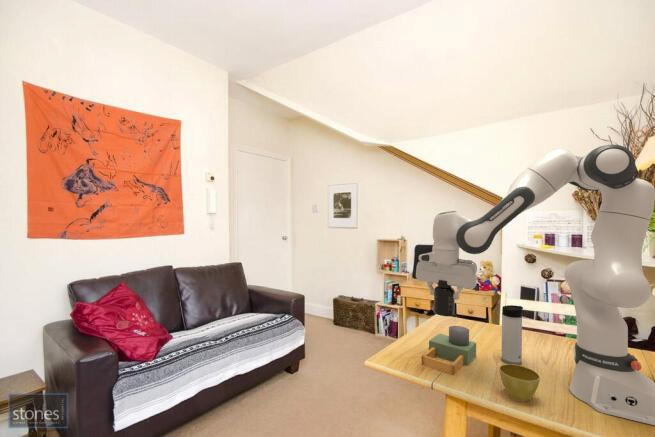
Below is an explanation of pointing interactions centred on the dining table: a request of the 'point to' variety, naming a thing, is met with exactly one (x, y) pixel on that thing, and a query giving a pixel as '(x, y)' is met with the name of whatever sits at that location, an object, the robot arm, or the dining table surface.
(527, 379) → the flower pot
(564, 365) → the dining table surface
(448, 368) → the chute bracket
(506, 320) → the travel mug
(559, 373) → the dining table surface
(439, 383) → the dining table surface
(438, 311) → the supplement bottle
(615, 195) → the robot arm
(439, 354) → the green block with knob
